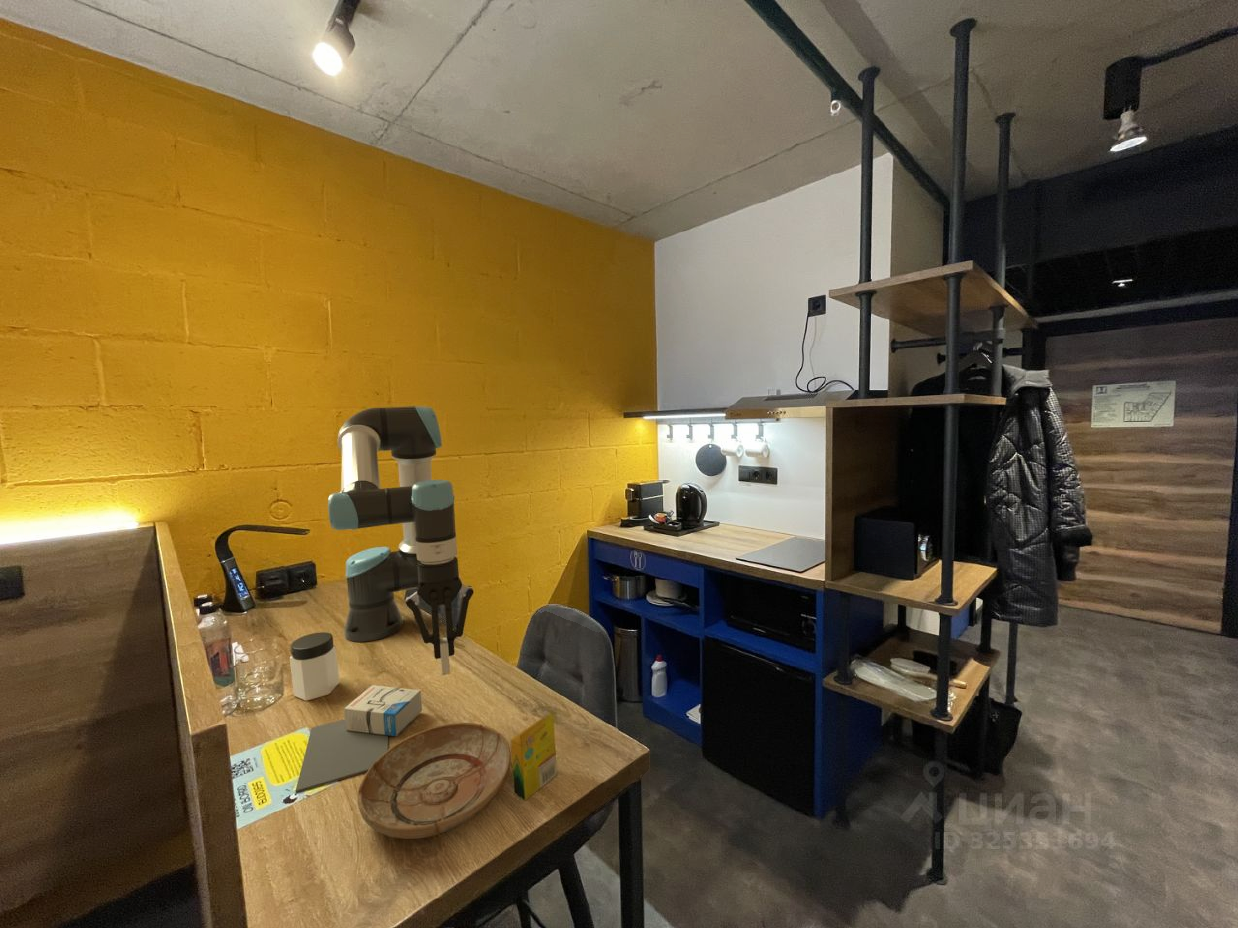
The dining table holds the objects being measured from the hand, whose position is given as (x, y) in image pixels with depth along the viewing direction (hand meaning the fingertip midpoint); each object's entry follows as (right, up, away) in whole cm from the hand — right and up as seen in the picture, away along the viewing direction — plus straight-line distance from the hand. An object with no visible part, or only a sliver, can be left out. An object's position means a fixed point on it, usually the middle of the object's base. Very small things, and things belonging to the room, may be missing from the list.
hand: (445, 671), depth 100 cm
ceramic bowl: (+5, -13, -18) cm, 23 cm away
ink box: (-7, -8, -1) cm, 11 cm away
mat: (-17, -12, -6) cm, 21 cm away
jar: (-34, -10, +13) cm, 38 cm away
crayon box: (+21, -12, -16) cm, 30 cm away
